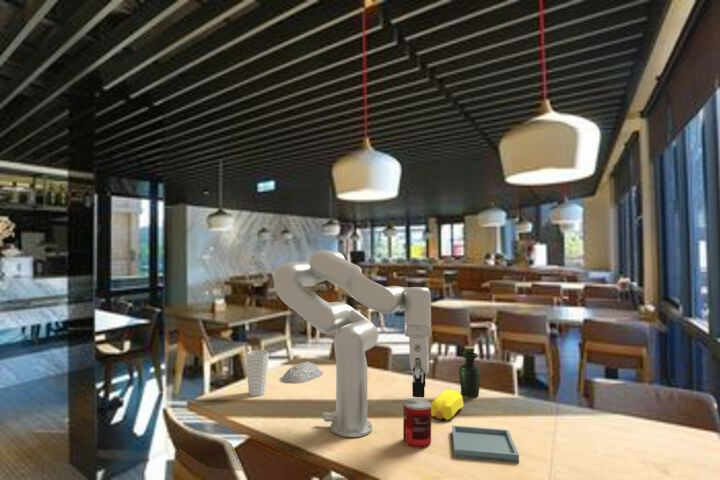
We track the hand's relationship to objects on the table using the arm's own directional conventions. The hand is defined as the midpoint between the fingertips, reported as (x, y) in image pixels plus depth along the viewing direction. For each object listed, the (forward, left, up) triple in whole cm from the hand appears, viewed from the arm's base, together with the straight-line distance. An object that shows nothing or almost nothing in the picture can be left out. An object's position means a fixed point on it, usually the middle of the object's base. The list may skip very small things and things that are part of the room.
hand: (419, 391), depth 117 cm
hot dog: (+8, +25, -15) cm, 30 cm away
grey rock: (-54, +57, -15) cm, 80 cm away
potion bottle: (+17, +46, -14) cm, 51 cm away
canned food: (-1, 0, -14) cm, 14 cm away
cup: (-63, +30, -14) cm, 71 cm away
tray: (+17, +1, -14) cm, 22 cm away
